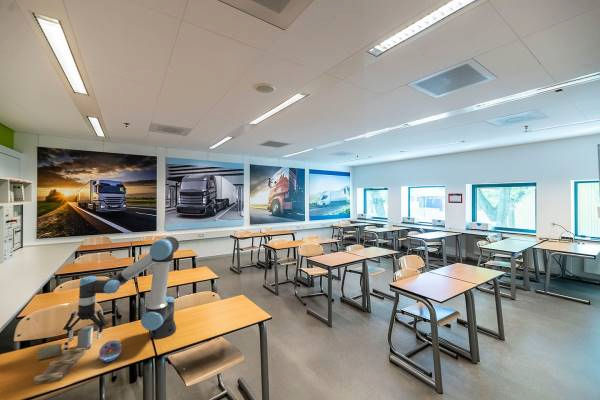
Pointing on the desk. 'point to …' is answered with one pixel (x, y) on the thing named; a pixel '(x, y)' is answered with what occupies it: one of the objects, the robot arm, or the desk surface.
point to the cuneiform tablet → (51, 351)
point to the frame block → (85, 337)
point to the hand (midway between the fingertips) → (84, 339)
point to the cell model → (110, 350)
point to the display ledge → (60, 366)
